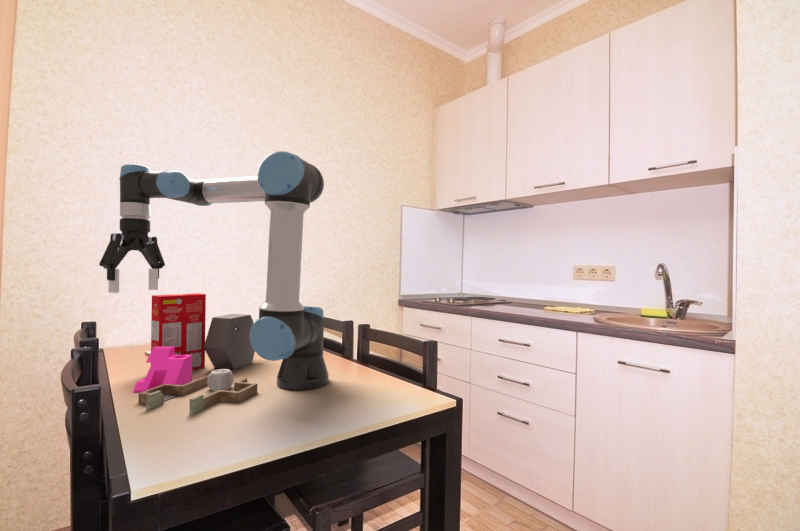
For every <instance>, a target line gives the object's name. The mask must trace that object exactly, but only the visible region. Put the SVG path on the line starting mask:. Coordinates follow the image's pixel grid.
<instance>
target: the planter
mask: <svg viewBox="0 0 800 531" xmlns="http://www.w3.org/2000/svg"><path fill="white" fill-rule="evenodd" d="M254 323H255V322H254V320H253V318H252V316H251V314H243V313H241V314H240V313H230V314H224V315H218V316H217V315H216V316H213V317H212V318H211V322H210V325H209V328H208V331H207V336H206V337H205V345H204V349H205V354H206V355H207V357H208V358H209V361H210V362H211V366H213V369H216V370H218V369H229V370H230V371H236V370H238V369H241V368H243V367H245V366H248V365H250V364H253V361H254V357H255V353H256V352H255V351H254V349H253V348H252V346H251V343H250V330H251V327H252V325H253V324H254Z"/></svg>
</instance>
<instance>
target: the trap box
mask: <svg viewBox="0 0 800 531" xmlns="http://www.w3.org/2000/svg"><path fill="white" fill-rule="evenodd" d="M208 376H209V374H208V375H205V376H202V377H199V378H197V379H194V380H193V381H192V380H191V381H190V382H188V383H186V384H184V385H175V384H162V385H160V386H157V387H154V388H151V389H149V390H146V391H143V392H140V393H138V401H137V403H138V404H145V407H146V410H148V411H150V410H153V409H155V408H157V407H160V406H162V405H164V404H165V402H168V401H169V400H171V399H174V398H177V397H179V396H181V397H183V396H185V395H188V394H191V393H192V392H195V391H198V390H199V389H202V388H204V387H206V386H208V383H207V379H208ZM233 387H234V389H233V390H228V389H227V390H218V391H212V392H211V393H209V394H207V395H204V394H198V395H195V396H193V397H190V399H189V415H194V414H197V413H199V412H201V411H202V410H205V409H207V408H209V407H211V406H213V405H215V404H217V403H218V402H227V403H238V404H239V403H241V402H243V401H245V400H247V399H249V398H250V397H252V396H254V395H256V394H257V393H258V383H257V382H248V377H246V378H245V377H244V378H241V379H240V380H237V381H235V382H233Z"/></svg>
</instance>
